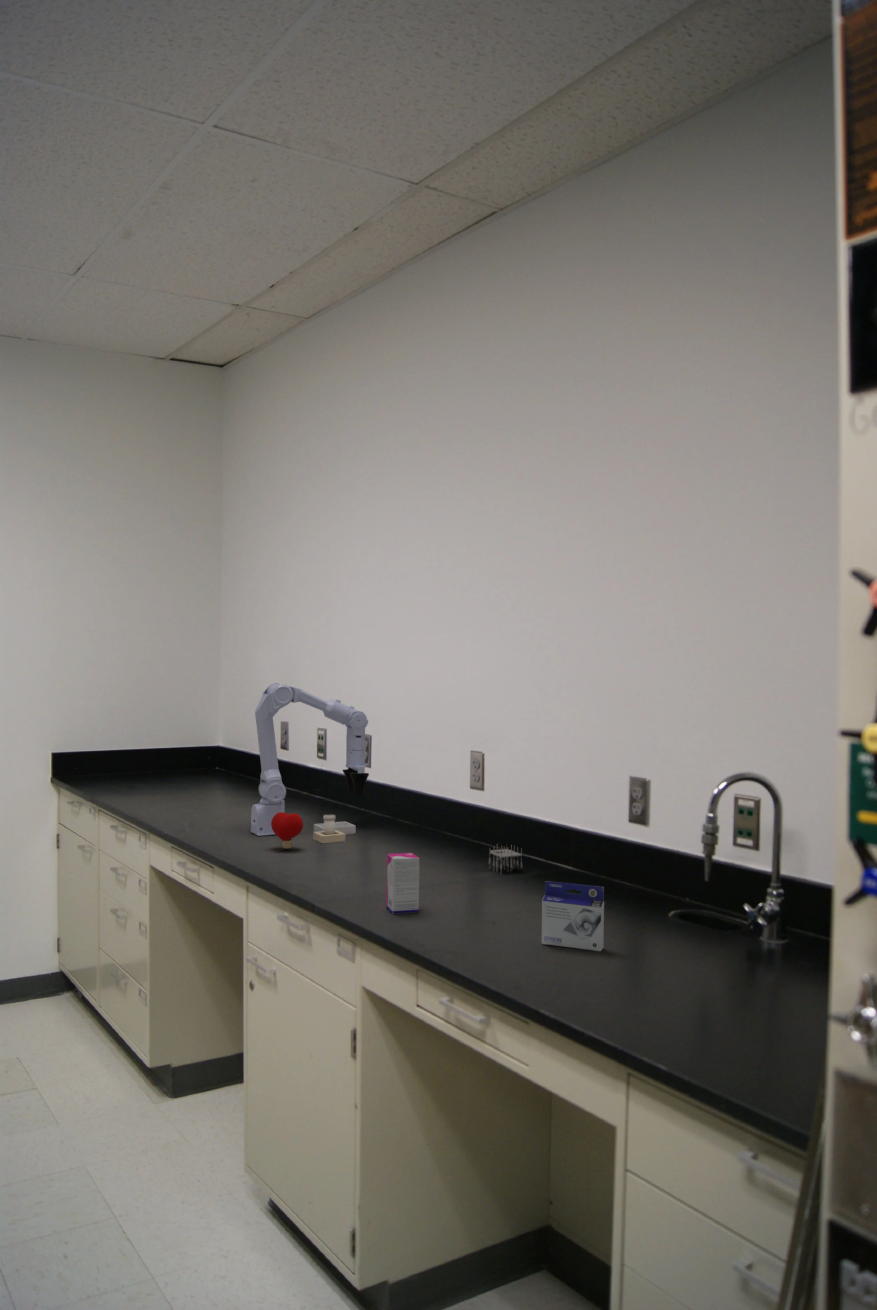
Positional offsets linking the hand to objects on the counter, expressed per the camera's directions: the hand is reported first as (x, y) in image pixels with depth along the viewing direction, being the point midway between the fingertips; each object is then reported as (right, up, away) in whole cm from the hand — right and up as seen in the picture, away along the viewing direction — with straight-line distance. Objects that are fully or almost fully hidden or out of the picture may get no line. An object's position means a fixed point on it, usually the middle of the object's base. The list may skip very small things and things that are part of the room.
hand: (355, 794), depth 297 cm
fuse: (-6, -10, -21) cm, 24 cm away
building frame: (+42, -11, -57) cm, 71 cm away
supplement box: (+18, -11, -93) cm, 95 cm away
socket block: (-6, -10, -21) cm, 24 cm away
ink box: (+50, -12, -118) cm, 129 cm away
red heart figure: (-16, -11, -34) cm, 39 cm away
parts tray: (-5, -10, -11) cm, 16 cm away
